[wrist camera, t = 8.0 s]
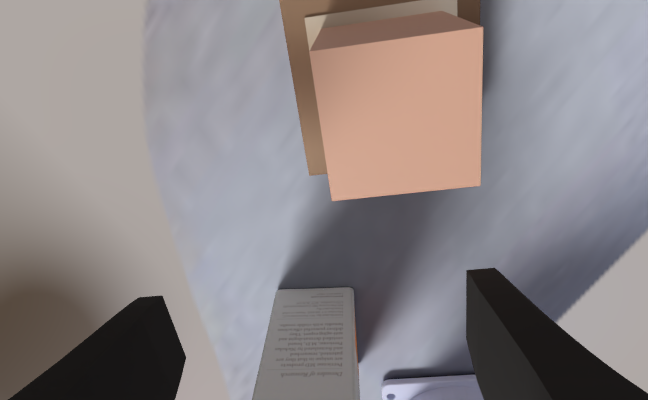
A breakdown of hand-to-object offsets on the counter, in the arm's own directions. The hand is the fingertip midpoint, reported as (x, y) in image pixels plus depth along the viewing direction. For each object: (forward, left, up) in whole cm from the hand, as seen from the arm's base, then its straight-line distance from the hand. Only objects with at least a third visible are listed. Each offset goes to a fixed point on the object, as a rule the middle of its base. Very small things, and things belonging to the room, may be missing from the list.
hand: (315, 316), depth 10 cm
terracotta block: (+4, -3, -8) cm, 9 cm away
